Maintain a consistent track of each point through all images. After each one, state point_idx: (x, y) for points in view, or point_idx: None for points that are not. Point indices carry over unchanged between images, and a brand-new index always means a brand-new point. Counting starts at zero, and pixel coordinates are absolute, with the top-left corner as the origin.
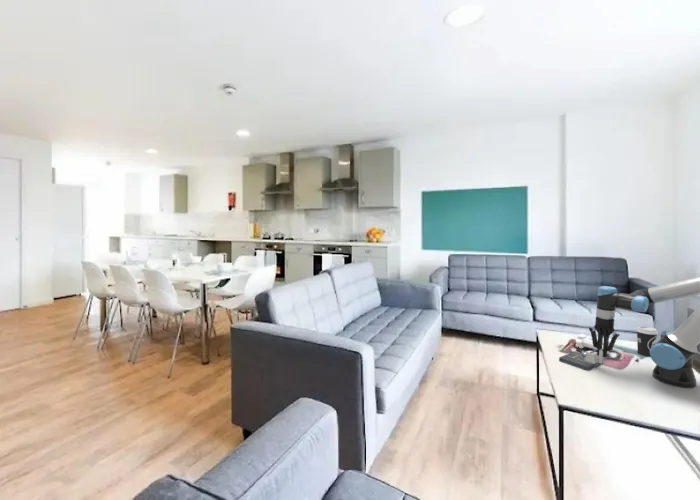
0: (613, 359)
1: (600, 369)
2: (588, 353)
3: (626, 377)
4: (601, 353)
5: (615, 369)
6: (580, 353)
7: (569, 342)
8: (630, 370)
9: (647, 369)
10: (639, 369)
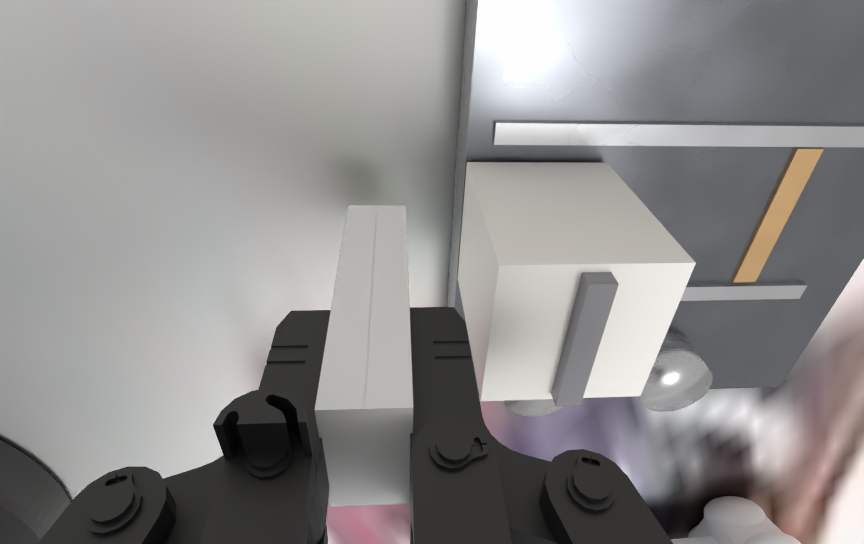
0: None
1: (377, 174)
2: (629, 253)
3: (42, 201)
4: (350, 343)
5: None
6: (714, 373)
7: (812, 528)
8: (198, 412)
9: None
10: None
